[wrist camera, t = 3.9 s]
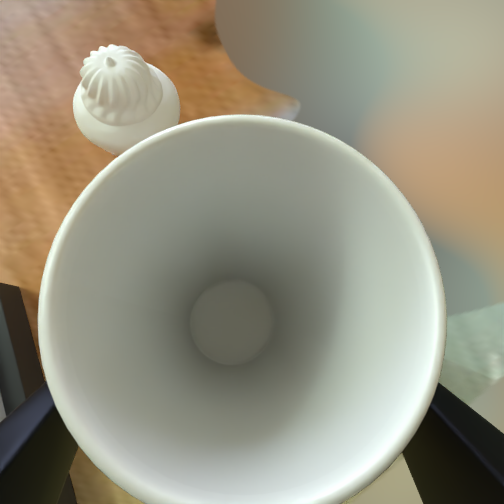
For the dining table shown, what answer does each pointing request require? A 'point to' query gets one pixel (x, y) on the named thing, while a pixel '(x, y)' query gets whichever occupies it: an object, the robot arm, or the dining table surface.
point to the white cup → (242, 316)
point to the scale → (20, 363)
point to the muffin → (123, 99)
